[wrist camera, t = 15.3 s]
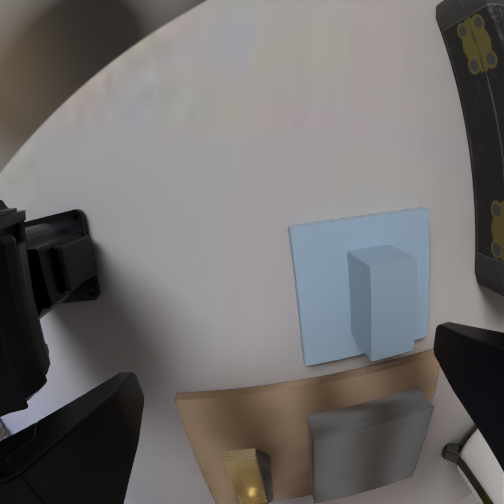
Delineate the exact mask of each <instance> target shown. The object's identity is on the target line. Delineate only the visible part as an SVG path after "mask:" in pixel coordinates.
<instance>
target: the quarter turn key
mask: <svg viewBox="0 0 504 504" xmlns="http://www.w3.org/2000/svg"><path fill="white" fill-rule="evenodd" d="M224 463H225V466H226V469H227V472H228V474H229V477H230V480H231V482H232V485H233V488H234V490H235V493H236V495H237V498H238V500H239V503H240V504H268V499H267V495H266V490H265V486H264V482H263V479H262V475H261V471H260V466H259V462H258V458H257V454H256V450H255V448H253V449H244V450H233V451H224Z"/></svg>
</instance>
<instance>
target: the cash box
mask: <svg viewBox="0 0 504 504" xmlns="http://www.w3.org/2000/svg"><path fill="white" fill-rule="evenodd" d="M436 19H437V21H438V24H439V27H440V30H441V32H442V36H443V39H444V41H445V45H446V48H447V51H448V54H449V57H450V61H451V64H452V68H453V71H454V75H455V79H456V83H457V87H458V91H459V95H460V100H461V104H462V109H463V114H464V119H465V124H466V130H467V136H468V143H469V149H470V157H471V165H472V174H473V185H474V199H475V221H476V262H475V271H476V275H477V279H478V282H479V283H480V284H481V285H483V286H485V287H487V288H489V289H491V290H493V291H495V292H497V293H499V294H501V295H503V296H504V0H444V1H442V2H441V3H440V4H438V5H437V7H436Z"/></svg>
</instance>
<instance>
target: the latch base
mask: <svg viewBox="0 0 504 504" xmlns="http://www.w3.org/2000/svg"><path fill="white" fill-rule="evenodd" d="M439 367H440V365H439V363H438V361H437V359H436V357H435V355H434V350H433V349H431V350H427V351H424V352H421V353H417V354H414V355H410V356H407V357H403V358H399V359H396V360H392V361H388V362H384V363H380V364H376V365H372V366H368V367H364V368H359V369H355V370H350V371H346V372H341V373H336V374H331V375H326V376H321V377H315V378H310V379H304V380H298V381H292V382H285V383H278V384H271V385H264V386H256V387H248V388H238V389H229V390H218V391H205V392H190V393H177V396H176V399H175V402H176V405H177V408H178V411H179V414H180V416H181V419H182V422H183V425H184V428H185V430H186V433H187V436H188V438H189V441H190V444H191V446H192V449H193V451H194V454H195V457H196V459H197V462H198V464H199V466H200V469H201V471H202V474H203V476H204V478H205V481H206V483H207V485H208V488H209V490H210V492H211V494H212V497H213V499H214V501H215V503H216V504H240V503H239V500H238V498H237V495H236V493H235V490H234V488H233V485H232V482H231V480H230V477H229V474H228V472H227V469H226V466H225V463H224V451H233V450H244V449H253V448H255V450H256V454H257V458H258V462H259V466H260V471H261V475H262V479H263V482H264V486H265V490H266V495H267V499H268V503H270V502H271V501H273V500H281V499H289V498H295V497H302V496H307V495H313V499H314V503H318V502H323V501H328V500H332V499H337V498H341V497H345V496H349V495H353V494H357V493H361V492H365V491H368V490H372V489H375V488H378V487H382V486H385V485H388V484H391V483H394V482H397V481H400V480H403V479H405V478H408V477H411V476H412V475H413V473H414V470H415V467H416V464H417V461H418V458H419V456H420V452H421V449H422V446H423V443H424V440H425V437H426V433H427V430H428V426H429V423H430V419H431V415H432V411H433V405H432V400H433V396H434V392H435V387H436V382H437V377H438V372H439Z"/></svg>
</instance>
